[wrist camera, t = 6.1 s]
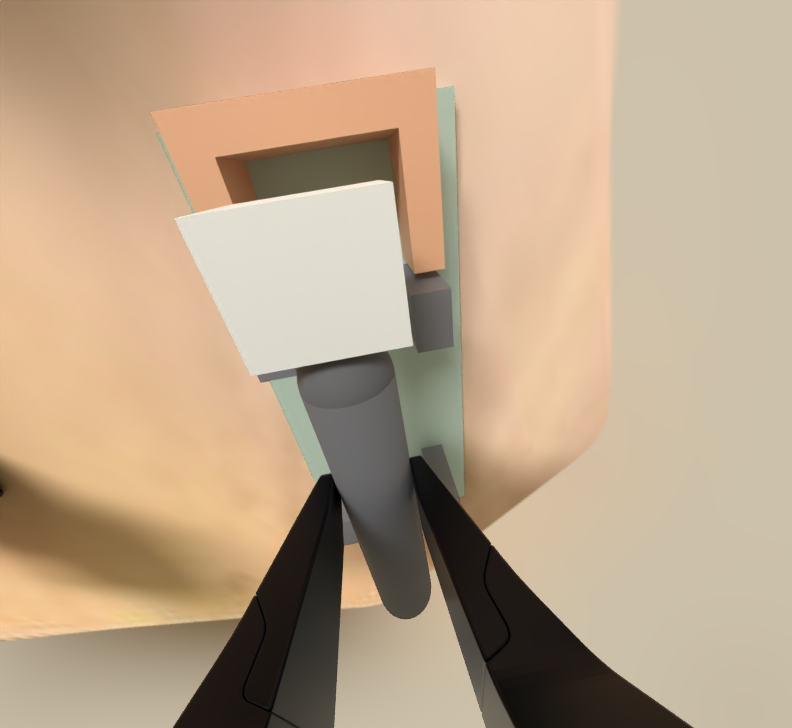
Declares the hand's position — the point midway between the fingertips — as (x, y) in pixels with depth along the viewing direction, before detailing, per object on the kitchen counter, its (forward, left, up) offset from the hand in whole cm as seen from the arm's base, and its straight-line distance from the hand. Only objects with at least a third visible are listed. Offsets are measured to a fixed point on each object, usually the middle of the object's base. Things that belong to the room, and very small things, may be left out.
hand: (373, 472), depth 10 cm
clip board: (0, -1, -6) cm, 6 cm away
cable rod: (0, -1, -1) cm, 1 cm away
